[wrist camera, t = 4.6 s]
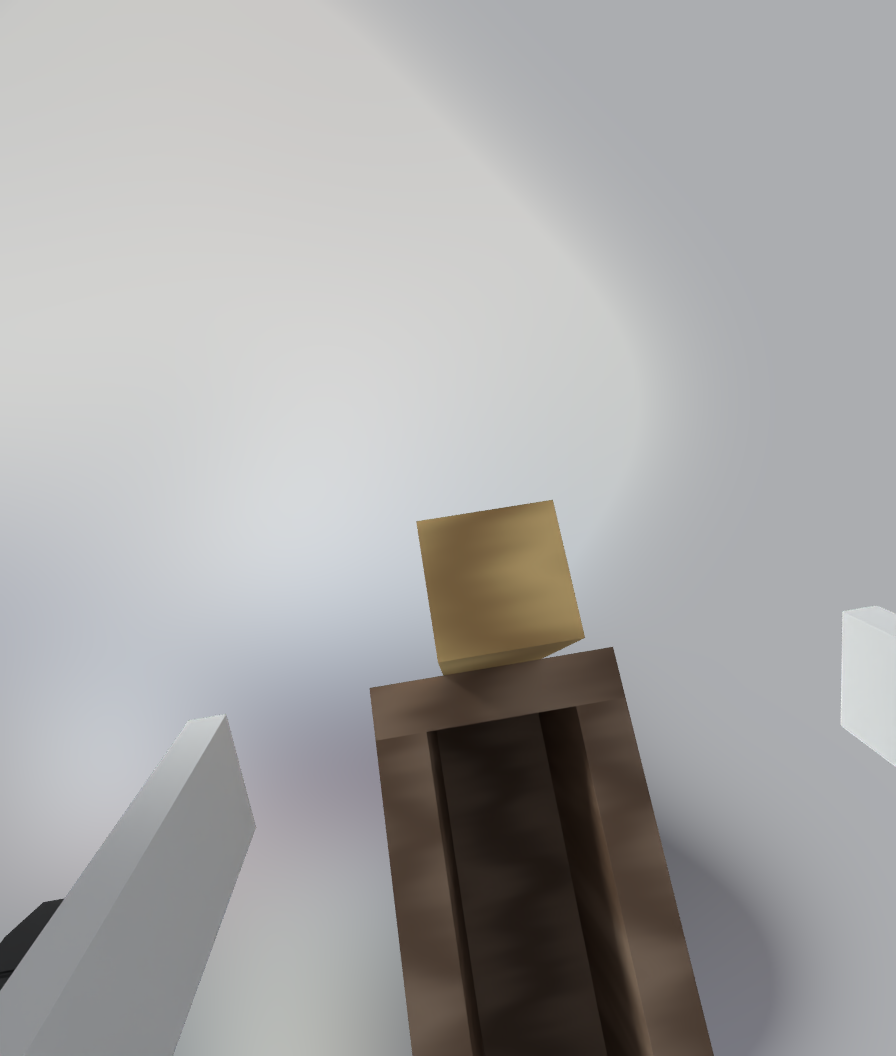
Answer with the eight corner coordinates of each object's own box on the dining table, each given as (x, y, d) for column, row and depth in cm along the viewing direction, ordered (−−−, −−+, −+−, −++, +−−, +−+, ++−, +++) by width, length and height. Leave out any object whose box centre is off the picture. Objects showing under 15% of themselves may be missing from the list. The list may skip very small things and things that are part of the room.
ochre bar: (438, 662, 15) (416, 521, 16) (447, 685, 36) (437, 623, 37) (584, 637, 15) (552, 499, 16) (508, 674, 36) (496, 613, 37)
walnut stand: (517, 1954, 14) (369, 688, 22) (488, 1380, 25) (398, 692, 34) (910, 1853, 14) (612, 646, 23) (704, 1333, 25) (559, 665, 34)
